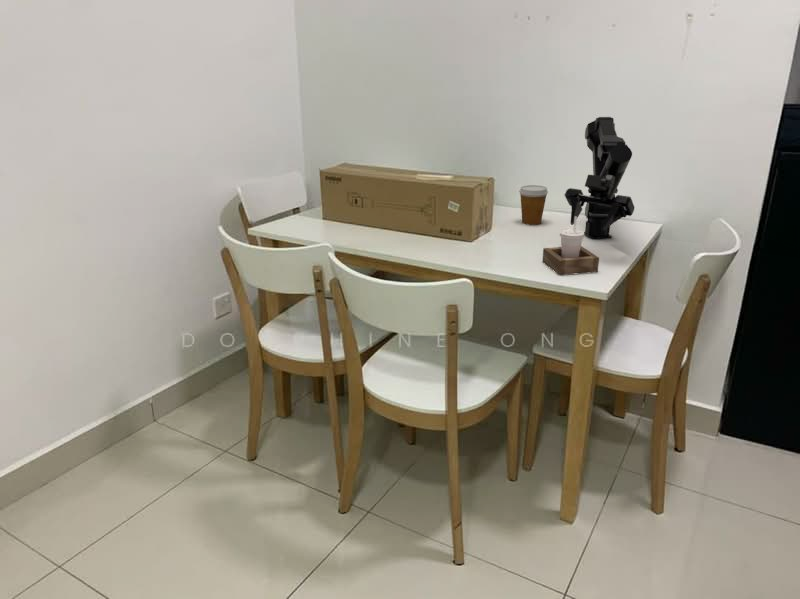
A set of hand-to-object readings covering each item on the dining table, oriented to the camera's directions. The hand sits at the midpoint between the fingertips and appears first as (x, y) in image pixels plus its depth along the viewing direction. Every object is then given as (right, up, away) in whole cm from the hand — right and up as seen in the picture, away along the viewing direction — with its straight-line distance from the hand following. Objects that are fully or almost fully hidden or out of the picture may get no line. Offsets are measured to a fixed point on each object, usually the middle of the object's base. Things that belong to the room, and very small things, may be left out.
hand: (586, 226), depth 168 cm
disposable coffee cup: (-7, +6, +40) cm, 41 cm away
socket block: (-5, -11, -2) cm, 12 cm away
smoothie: (-5, -11, -1) cm, 12 cm away
